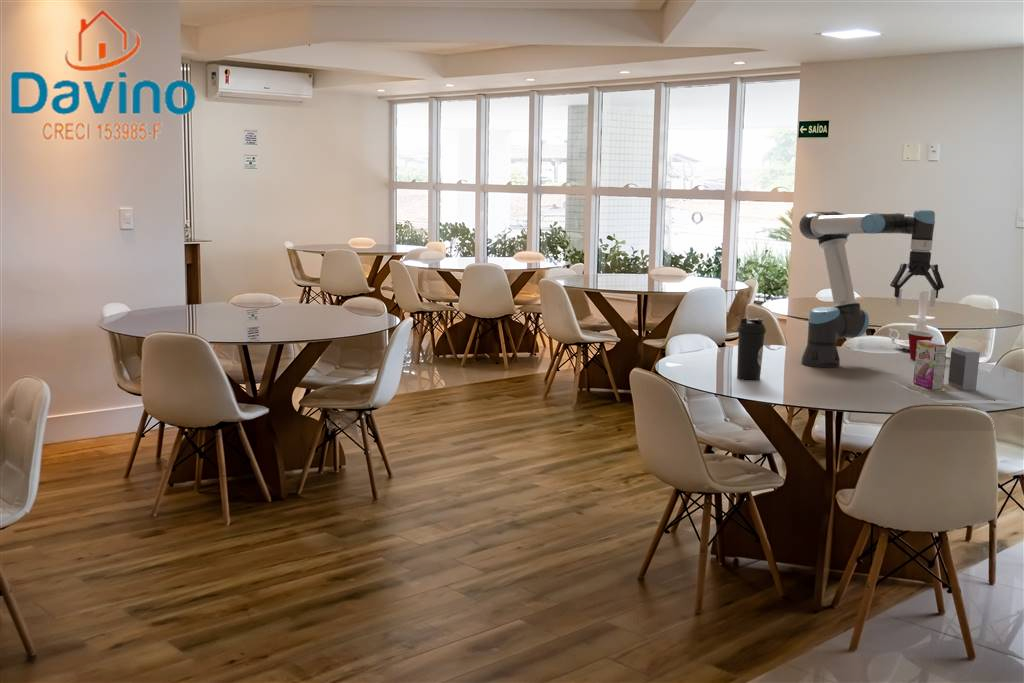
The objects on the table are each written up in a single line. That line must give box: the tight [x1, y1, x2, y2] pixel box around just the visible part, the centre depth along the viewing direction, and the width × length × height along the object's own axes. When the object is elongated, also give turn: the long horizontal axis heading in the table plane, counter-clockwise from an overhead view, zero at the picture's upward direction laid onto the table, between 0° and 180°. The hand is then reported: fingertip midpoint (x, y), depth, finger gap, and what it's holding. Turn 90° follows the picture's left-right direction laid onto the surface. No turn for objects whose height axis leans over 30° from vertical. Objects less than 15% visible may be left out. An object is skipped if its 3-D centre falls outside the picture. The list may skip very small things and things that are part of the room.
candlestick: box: [888, 289, 936, 351], centre depth 451 cm, size 21×25×28 cm
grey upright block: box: [947, 347, 981, 390], centre depth 363 cm, size 5×10×14 cm, turn 5°
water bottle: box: [736, 316, 767, 382], centre depth 374 cm, size 10×10×23 cm
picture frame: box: [906, 383, 980, 395], centre depth 364 cm, size 21×13×1 cm, turn 95°
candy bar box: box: [913, 340, 948, 390], centre depth 362 cm, size 11×5×16 cm, turn 14°
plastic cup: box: [907, 330, 935, 361], centre depth 427 cm, size 11×11×12 cm
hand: (914, 306), depth 382 cm, fingers open, 13 cm apart
